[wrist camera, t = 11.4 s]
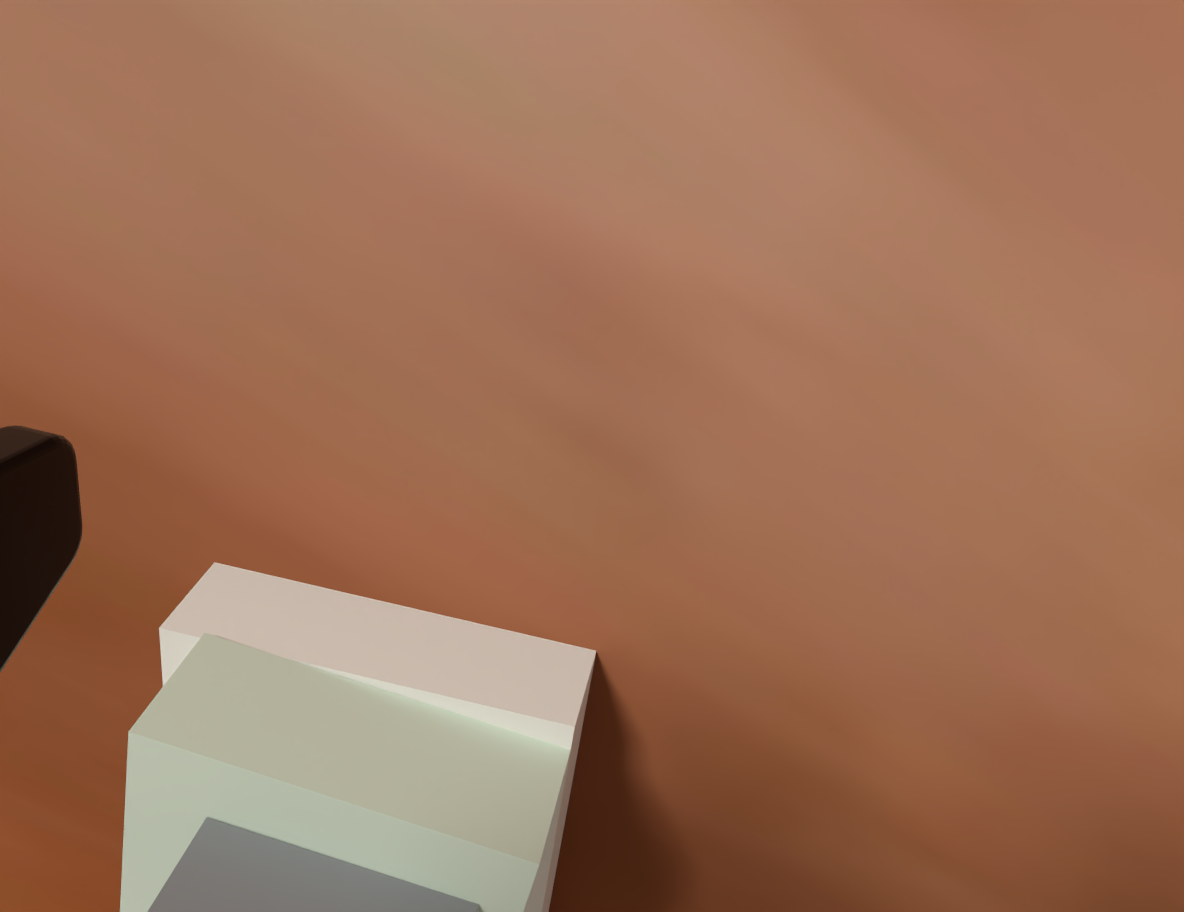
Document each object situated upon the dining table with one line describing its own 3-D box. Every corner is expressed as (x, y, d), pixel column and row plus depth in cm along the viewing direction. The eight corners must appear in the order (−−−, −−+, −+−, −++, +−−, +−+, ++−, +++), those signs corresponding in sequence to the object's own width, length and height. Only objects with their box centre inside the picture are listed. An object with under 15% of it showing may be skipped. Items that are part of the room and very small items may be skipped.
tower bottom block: (600, 636, 26) (574, 726, 23) (552, 898, 30) (526, 998, 27) (224, 550, 26) (159, 627, 24) (232, 818, 31) (177, 908, 28)
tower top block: (570, 749, 23) (539, 864, 21) (494, 979, 27) (459, 1098, 25) (204, 632, 24) (128, 731, 21) (182, 877, 28) (116, 985, 25)
